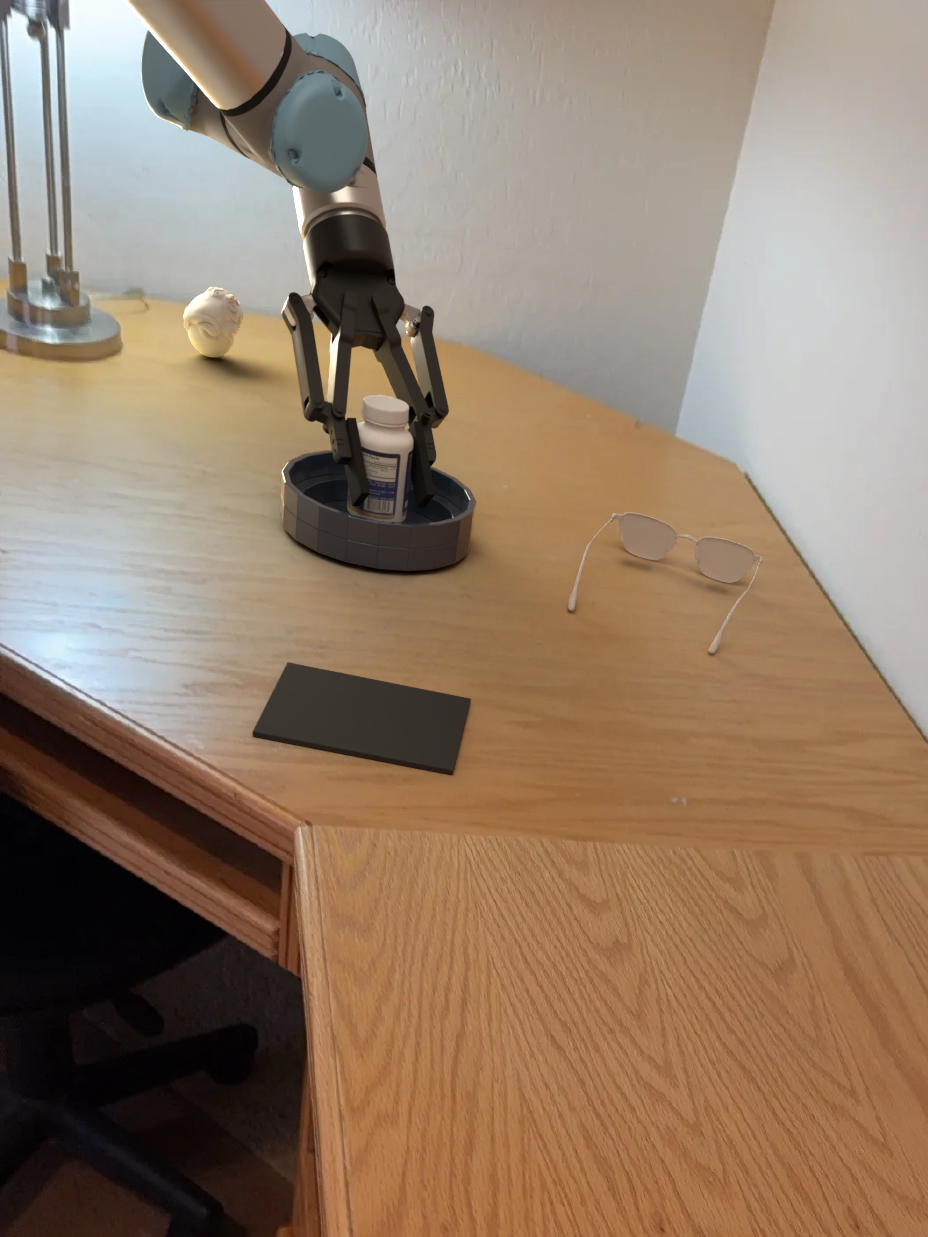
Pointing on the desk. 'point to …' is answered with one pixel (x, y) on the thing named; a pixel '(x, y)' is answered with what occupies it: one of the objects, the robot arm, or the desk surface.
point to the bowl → (329, 528)
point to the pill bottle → (385, 458)
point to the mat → (365, 718)
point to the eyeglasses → (660, 538)
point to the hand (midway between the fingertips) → (393, 500)
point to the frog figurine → (213, 321)
